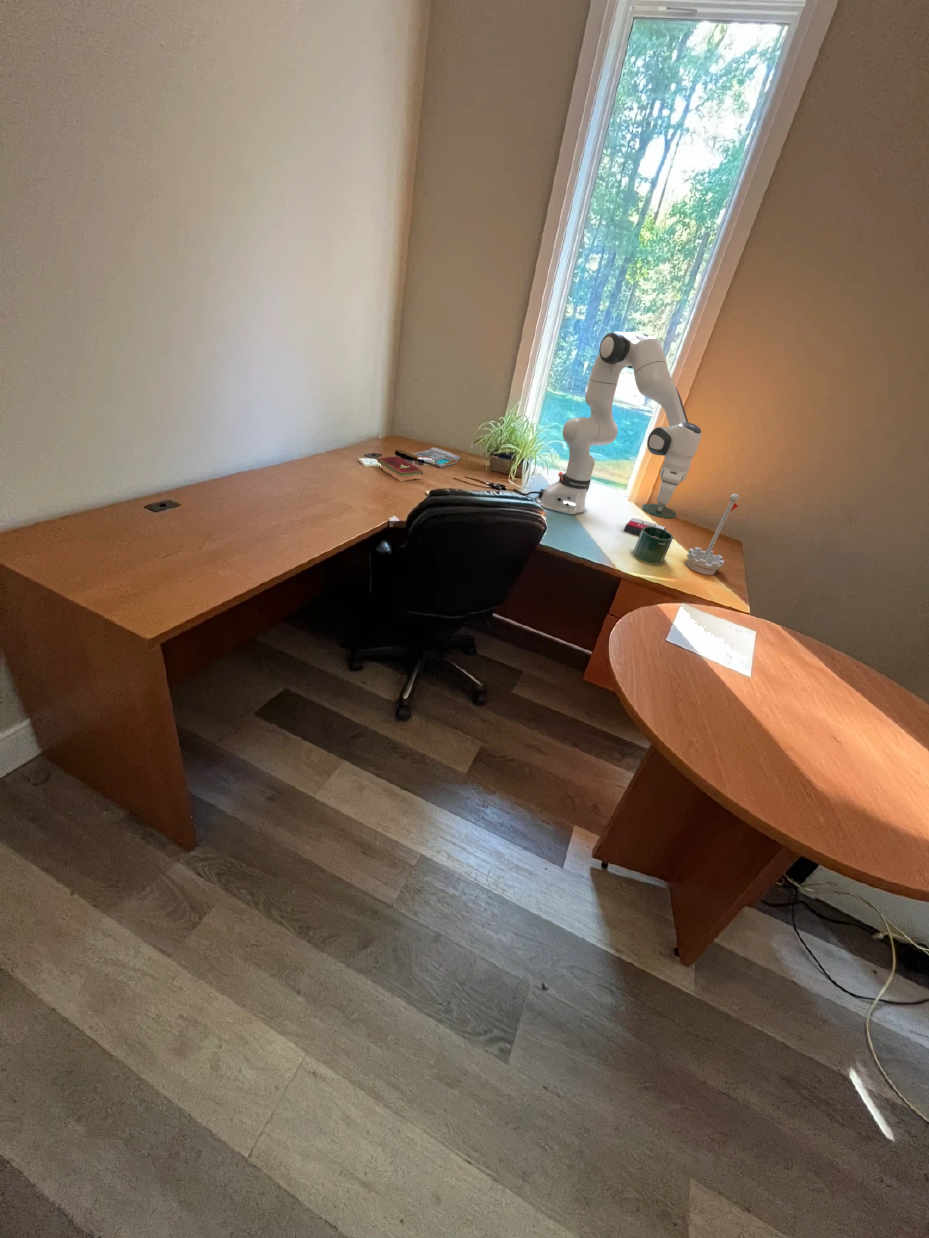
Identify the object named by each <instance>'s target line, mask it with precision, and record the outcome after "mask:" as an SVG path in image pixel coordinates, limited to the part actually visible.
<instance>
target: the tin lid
mask: <svg viewBox="0 0 929 1238" xmlns="http://www.w3.org/2000/svg"><path fill="white" fill-rule="evenodd" d="M658 504H659V503H643V504H642V505H641V510H642V511H643V512H645V513H646V514H648V515H651V516H653V517H656V518H660V519H664V520H665V519H666V520H671V519H675V518H676V517H677V513H676V511H675V510H673V509H671V508H670V507H666V505H664V506H663V509H662V511H657V507H658Z"/></svg>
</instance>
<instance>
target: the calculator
mask: <svg viewBox="0 0 929 1238" xmlns="http://www.w3.org/2000/svg"><path fill="white" fill-rule="evenodd" d="M648 525H650V526H655V527H657V528H660V529H663V530H665V531H667V527H666V526H664V525H660V524H656V523H655V522H650V521H646V520H643V519H640V518H636V517H631V519H630V520H629V521H628V522H627V523H626V525H625V527H624V532H627V533H630V534H633V535H635V536H638V537H639V536H640V533H641V530H642V528H643V527H648Z"/></svg>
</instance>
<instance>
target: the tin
mask: <svg viewBox="0 0 929 1238" xmlns="http://www.w3.org/2000/svg"><path fill="white" fill-rule="evenodd" d="M652 536H655V537H652ZM656 537H658V538H659V539H658V538H656ZM673 539H674V535H673V534H672V533H670V532H669V531H668V530H663V529H660V528H657V527H655V526H650V525H648V527H643V528H642V530H641V533H640V536H638V539H637V540H636V544H635V546H634V548H633V552H632V553H633V556H634V557H635V558H637V559H639V560H640V561H642V562H645V563H648V564H654V565H660V564H661V563H664V561H665V558H666V556H667V553H668V551H669V549H670V546H671V544H672V542H673Z"/></svg>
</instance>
